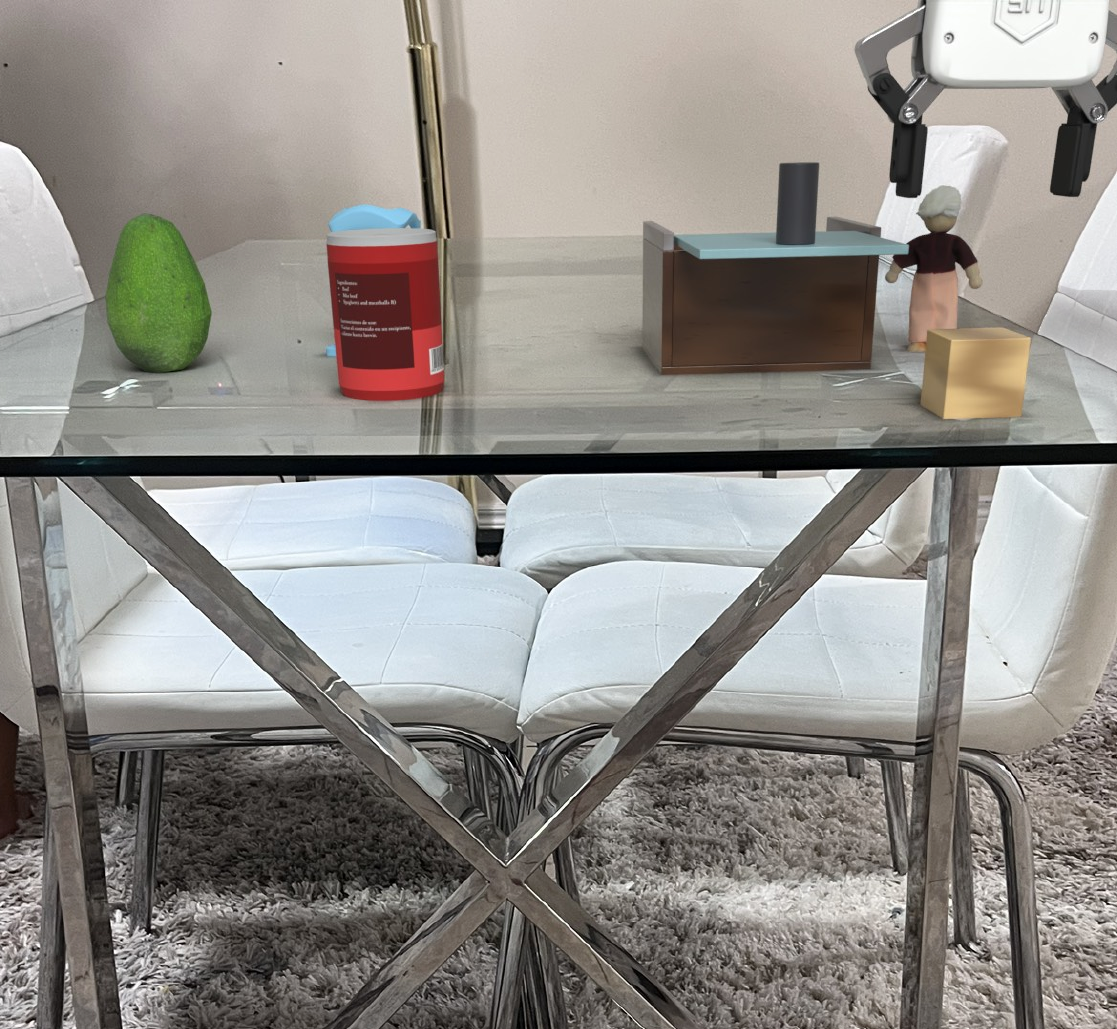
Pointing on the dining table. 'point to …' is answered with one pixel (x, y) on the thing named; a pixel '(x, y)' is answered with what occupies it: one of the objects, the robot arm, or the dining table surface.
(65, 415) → the dining table surface
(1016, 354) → the block
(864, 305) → the box
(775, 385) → the dining table surface
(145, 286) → the avocado
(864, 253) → the lid
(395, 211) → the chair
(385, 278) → the canned food
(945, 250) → the grandmother figurine
